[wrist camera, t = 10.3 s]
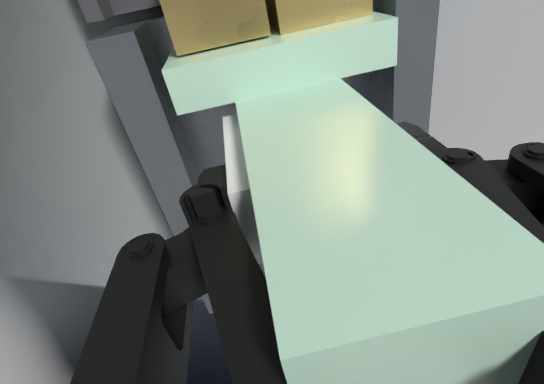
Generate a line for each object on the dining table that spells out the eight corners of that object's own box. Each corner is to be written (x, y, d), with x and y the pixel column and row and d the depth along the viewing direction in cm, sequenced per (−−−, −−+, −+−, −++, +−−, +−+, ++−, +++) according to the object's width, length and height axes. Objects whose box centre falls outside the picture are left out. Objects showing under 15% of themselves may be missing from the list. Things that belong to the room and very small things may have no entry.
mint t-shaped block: (174, 46, 17) (23, 322, 3) (352, 6, 17) (859, 122, 4) (209, 155, 20) (201, 503, 7) (357, 121, 20) (627, 394, 7)
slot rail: (114, 26, 18) (84, 41, 14) (390, -35, 18) (442, -38, 14) (210, 263, 28) (209, 313, 24) (386, 221, 28) (416, 263, 24)
